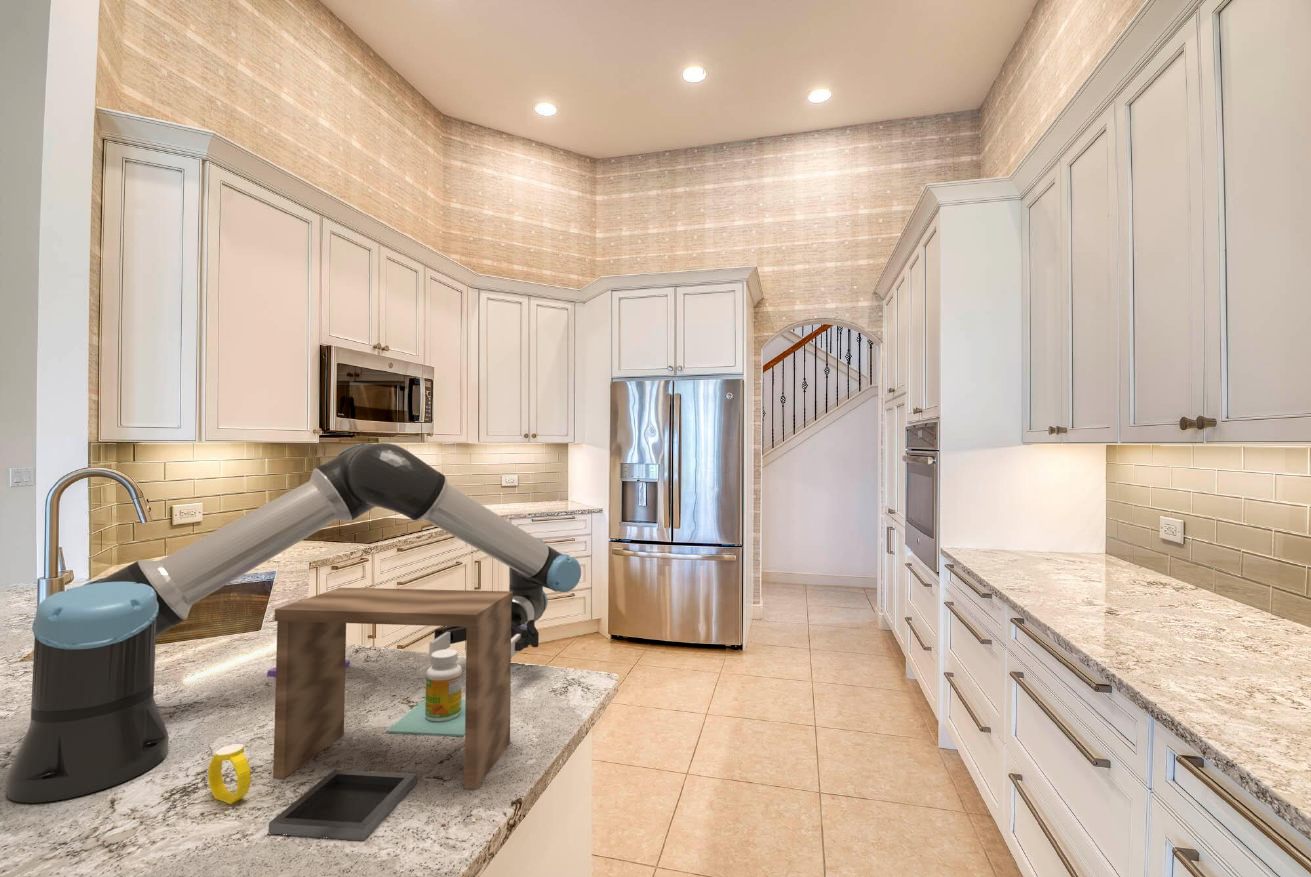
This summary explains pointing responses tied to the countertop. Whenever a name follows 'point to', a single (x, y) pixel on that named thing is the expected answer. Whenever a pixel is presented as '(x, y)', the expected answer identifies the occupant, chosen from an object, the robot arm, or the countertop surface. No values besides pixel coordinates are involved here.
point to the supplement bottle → (443, 686)
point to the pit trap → (344, 805)
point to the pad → (429, 723)
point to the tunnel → (319, 624)
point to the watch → (241, 768)
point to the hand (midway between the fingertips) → (468, 651)
